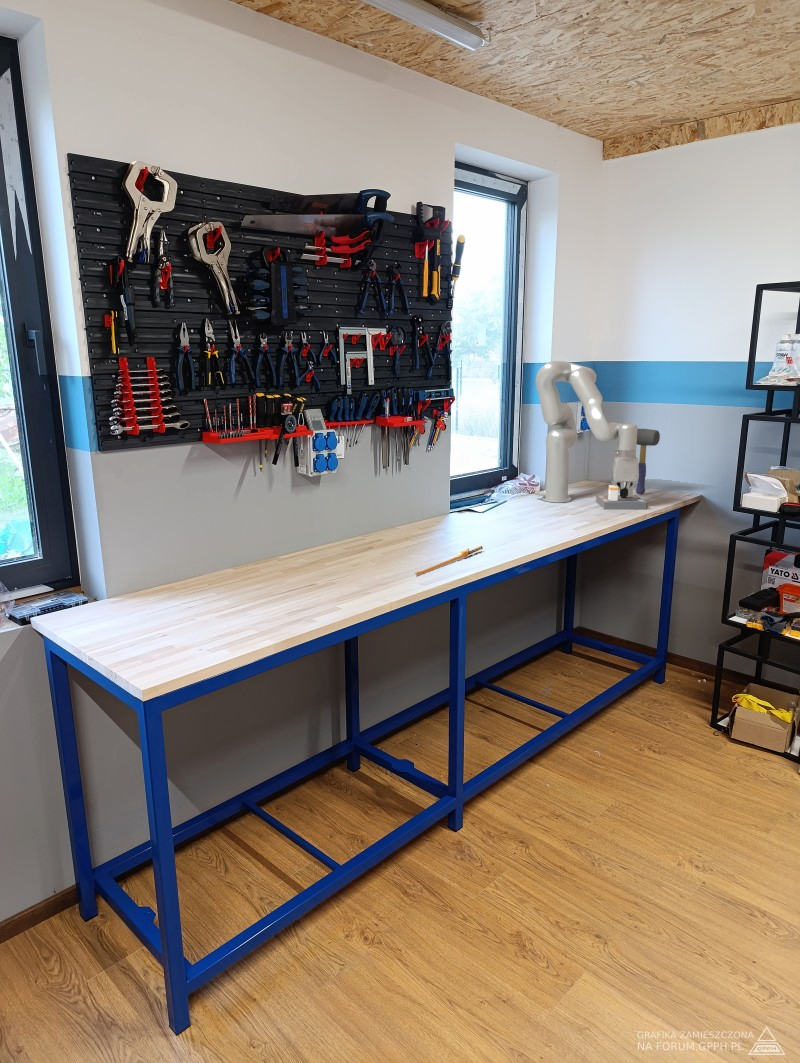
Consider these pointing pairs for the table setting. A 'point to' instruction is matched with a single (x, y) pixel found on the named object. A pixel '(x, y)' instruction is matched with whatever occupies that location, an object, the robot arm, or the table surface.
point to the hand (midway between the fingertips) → (623, 497)
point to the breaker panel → (622, 501)
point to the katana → (451, 560)
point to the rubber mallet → (645, 439)
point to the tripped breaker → (613, 493)
